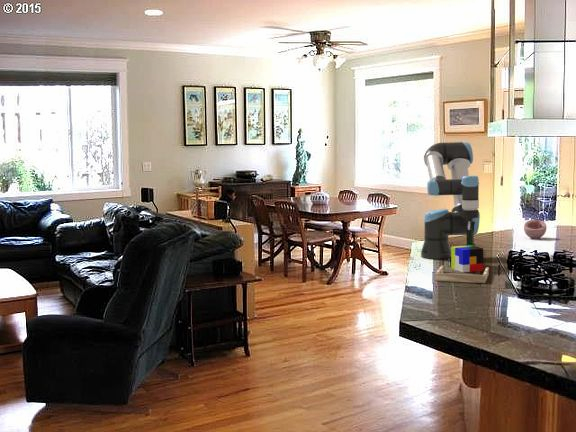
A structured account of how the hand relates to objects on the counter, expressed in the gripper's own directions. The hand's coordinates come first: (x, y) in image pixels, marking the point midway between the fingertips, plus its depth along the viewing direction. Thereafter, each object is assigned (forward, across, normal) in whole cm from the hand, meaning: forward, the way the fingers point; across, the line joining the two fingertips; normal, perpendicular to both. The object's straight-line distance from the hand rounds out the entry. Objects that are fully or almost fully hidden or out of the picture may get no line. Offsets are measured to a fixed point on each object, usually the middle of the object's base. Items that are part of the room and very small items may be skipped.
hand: (470, 259), depth 306 cm
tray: (+2, +30, 0) cm, 30 cm away
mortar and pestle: (+2, -86, +27) cm, 90 cm away
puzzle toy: (+2, +13, 0) cm, 13 cm away
